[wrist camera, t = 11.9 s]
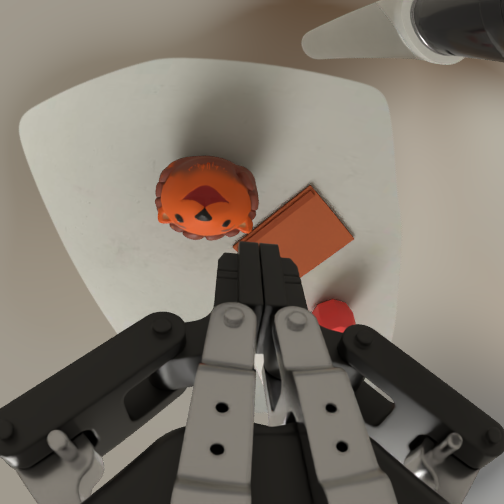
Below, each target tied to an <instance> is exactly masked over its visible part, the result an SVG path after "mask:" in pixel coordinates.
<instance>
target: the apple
mask: <svg viewBox="0 0 504 504" xmlns="http://www.w3.org/2000/svg"><path fill="white" fill-rule="evenodd" d="M312 314H313V315H314V316H315V317H316V318H317V320H318V323H319V325H321V326H323V327H325V328H327V329H331V330H334V331H338V332H341V333H343V332H344V330H345V329H346V328H347V327H349V326H351V325H355V324H356V323H355V319H354V316H353V312H352V311H351V310H350V308H349V307H348V305H347V304H346V303H344V302H341V301H338V300H334V299H332V300H329V301H326V302H323V303H320V304H318V305H317V306H316V308H315V309H314V311H313V312H312Z"/></svg>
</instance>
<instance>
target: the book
mask: <svg viewBox="0 0 504 504" xmlns="http://www.w3.org/2000/svg"><path fill="white" fill-rule="evenodd" d="M353 239H354V238H353V237H352V235H351V234H350V233H349V231H348V230H347V229H346V228H345V226H344V225H343V224H342V223H341V221H340V220H339V219H338V218H337V216H336V215H335V214H334V213H333V212H332V210H331V209H330V208H329V207H328V205H327V204H326V203H325V202H324V201H323V199H322V198H321V197H320V196H319V195H318V193H317V192H316V191H315V190H314V189H313V188H312V186H311V185H309V186H308V187H307V188H305V189H304V190H303V191H302V192H300V193H299V194H298V195H297V196H295V197H294V198H293V199H292V200H290V201H289V202H288V203H286V204H285V205H284V206H283V207H281V208H280V209H279V210H278V211H276V212H275V213H274V214H273V215H271V216H270V217H269V218H268V219H266V220H265V221H264V222H263V223H261V224H260V225H259V226H257V227H256V228H255V229H254V230H252V231H251V232H250V233H249V234H247V235H246V236H245V237H244V238H242V239H241V240H240V241H245V242H256V243H258V245H259V243H268V244H278V246H279V251H280V257H282V258H291V260H292V261H293V262H294V263H295V264H296V265H297V267H298V271H299V275H300V277H302V276H303V275H305V274H306V273H308V272H309V271H310V270H312V269H313V268H315V267H316V266H317V265H319V264H320V263H322V262H323V261H324V260H326V259H327V258H329V257H330V256H331V255H333V254H334V253H336V252H337V251H338V250H340V249H341V248H343V247H344V246H345V245H347V244H348V243H349V242H351V241H352V240H353ZM238 245H239V242H237V243H236V244H235V245H234V246H233V248H234V249H235V250H236V251H237V252H238Z"/></svg>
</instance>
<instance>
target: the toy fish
mask: <svg viewBox="0 0 504 504" xmlns="http://www.w3.org/2000/svg"><path fill="white" fill-rule="evenodd" d="M156 197H157V198H156V200H155V204H156V207H157V210H158V221H159V222H160V223H169V224H170V227H171V228H172V229H173V230H175V231H177V232H183V235H184V236H185V237H187V238H189V239H193V240H199V239H202V238H204V237H206V239H207V240H217V239H220V238H222V237H223V236H225V235H226V236H228V237H233V236H235V235H237V234H238V233H239V231H242V232H243V233H247V234H248V233H250V232H251V231H252V227H253V222H252V220H253V219H254V218H255V216H256V211H255V210H257V209H258V204H259V200H258V192H257V188H256V182H255V178H254V176H253V174H252V173H251V172H250V171H249V170H248V169H247V168H245V167H242V166H239V165H236V164H234V163H232V162H230V161H228V160H226V159H223V158H219V157H214V156H192V157H185V158H181V159H178V160H176V161H174V162H172V163H171V164H169V166H168V167H166V168H165V169H164V170H163V171H162V173H161V175H160V178H159V182H158V183H157V185H156Z"/></svg>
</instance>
